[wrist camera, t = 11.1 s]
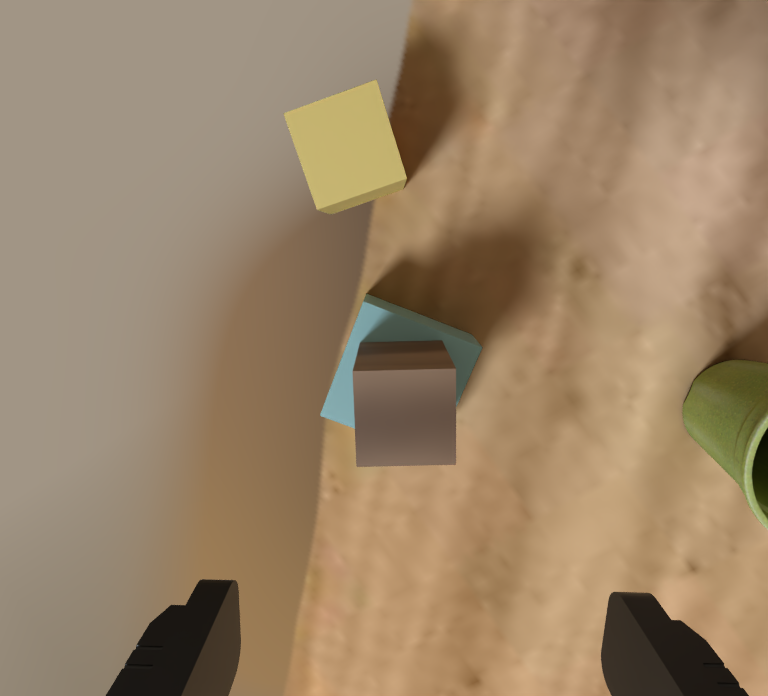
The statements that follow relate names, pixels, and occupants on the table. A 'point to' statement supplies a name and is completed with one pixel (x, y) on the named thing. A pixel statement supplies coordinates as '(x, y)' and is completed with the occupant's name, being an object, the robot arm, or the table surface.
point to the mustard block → (347, 148)
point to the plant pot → (734, 425)
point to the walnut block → (404, 404)
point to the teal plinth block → (388, 326)
